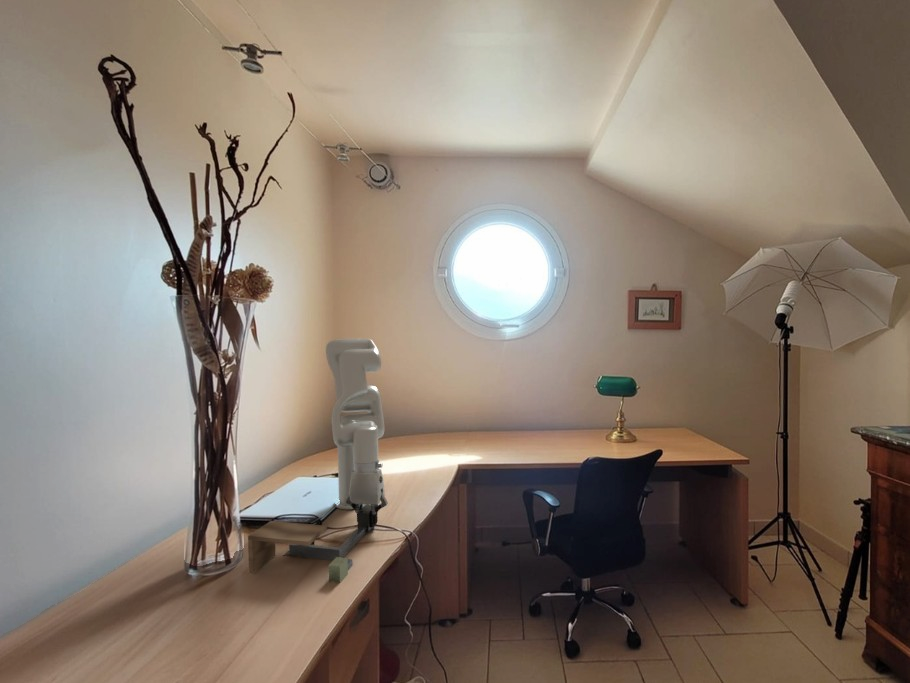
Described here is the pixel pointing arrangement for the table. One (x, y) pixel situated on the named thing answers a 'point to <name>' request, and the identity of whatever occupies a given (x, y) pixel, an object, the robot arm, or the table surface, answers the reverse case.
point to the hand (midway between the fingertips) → (367, 524)
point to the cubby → (278, 540)
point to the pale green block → (339, 569)
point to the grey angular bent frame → (333, 552)
